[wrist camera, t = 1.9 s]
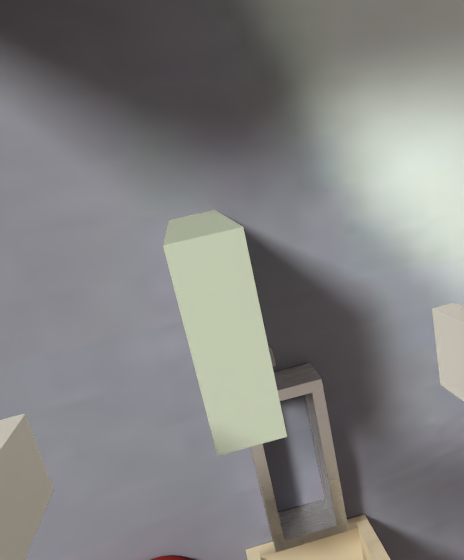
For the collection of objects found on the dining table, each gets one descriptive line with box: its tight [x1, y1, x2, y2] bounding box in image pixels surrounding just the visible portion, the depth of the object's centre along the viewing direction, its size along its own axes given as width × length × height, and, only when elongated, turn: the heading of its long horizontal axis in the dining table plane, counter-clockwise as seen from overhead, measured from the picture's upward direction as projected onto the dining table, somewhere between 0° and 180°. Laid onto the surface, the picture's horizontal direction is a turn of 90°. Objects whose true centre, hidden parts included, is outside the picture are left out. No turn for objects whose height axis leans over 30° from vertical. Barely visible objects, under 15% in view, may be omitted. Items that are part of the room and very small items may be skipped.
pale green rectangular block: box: [163, 210, 287, 456], centre depth 22 cm, size 9×4×12 cm, turn 12°
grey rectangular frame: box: [250, 363, 349, 552], centre depth 30 cm, size 13×6×3 cm, turn 12°
